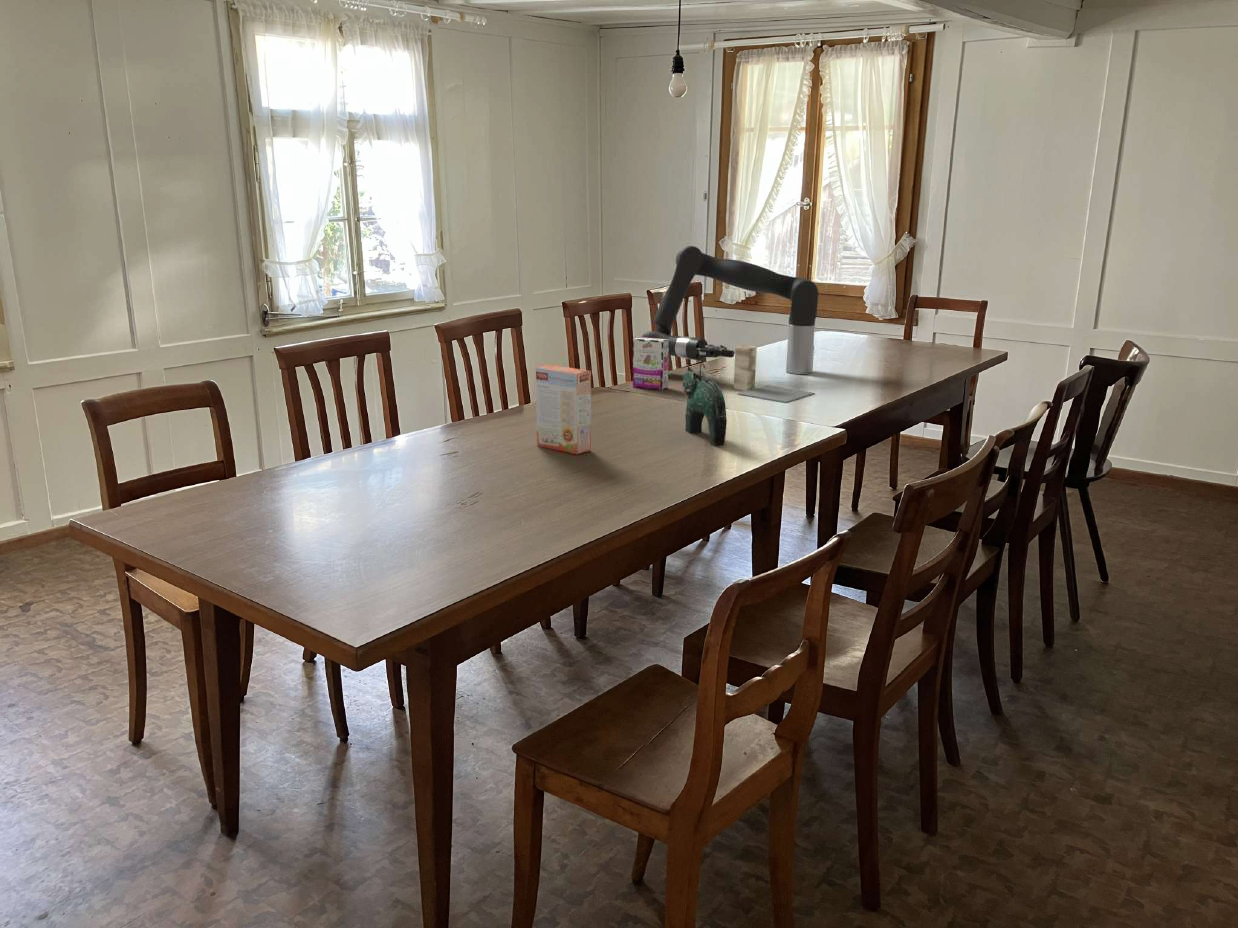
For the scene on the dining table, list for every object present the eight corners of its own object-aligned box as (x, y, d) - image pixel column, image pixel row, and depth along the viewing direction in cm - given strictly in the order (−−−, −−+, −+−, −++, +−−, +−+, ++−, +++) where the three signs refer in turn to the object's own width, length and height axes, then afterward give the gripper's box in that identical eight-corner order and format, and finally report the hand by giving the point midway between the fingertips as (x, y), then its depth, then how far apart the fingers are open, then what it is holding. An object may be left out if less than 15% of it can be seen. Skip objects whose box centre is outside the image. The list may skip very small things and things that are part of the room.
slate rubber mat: (767, 386, 328) (767, 385, 328) (814, 394, 316) (814, 392, 316) (737, 394, 315) (737, 393, 315) (785, 403, 303) (785, 401, 303)
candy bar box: (668, 388, 324) (669, 339, 319) (662, 390, 319) (663, 341, 315) (638, 384, 329) (639, 336, 324) (631, 387, 324) (632, 338, 320)
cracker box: (592, 450, 248) (592, 370, 243) (576, 455, 244) (576, 373, 238) (551, 441, 257) (550, 363, 251) (536, 446, 252) (534, 366, 246)
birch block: (742, 386, 327) (744, 345, 323) (754, 388, 324) (756, 347, 320) (733, 388, 323) (735, 347, 319) (746, 391, 320) (748, 348, 316)
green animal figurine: (679, 429, 270) (681, 358, 265) (700, 427, 272) (702, 357, 267) (710, 447, 252) (713, 371, 247) (732, 445, 255) (735, 370, 249)
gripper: (679, 339, 329) (721, 345, 318) (703, 335, 338) (744, 340, 327) (679, 361, 331) (720, 368, 320) (702, 356, 340) (743, 362, 329)
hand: (732, 354), depth 324 cm, fingers closed
